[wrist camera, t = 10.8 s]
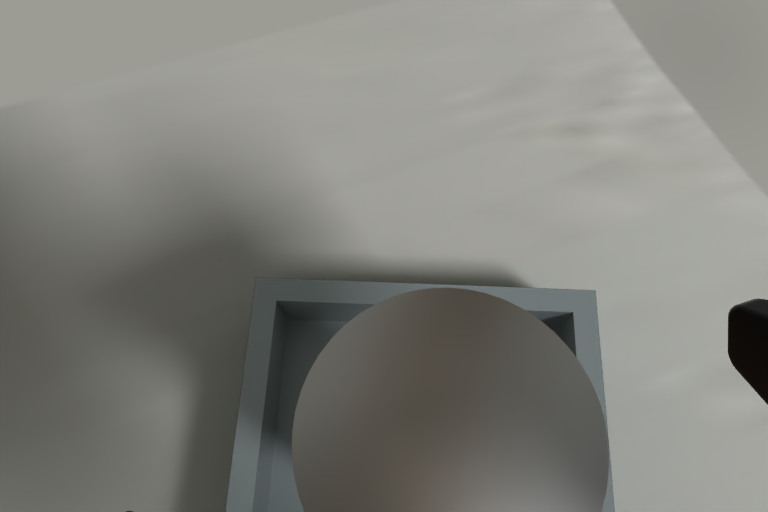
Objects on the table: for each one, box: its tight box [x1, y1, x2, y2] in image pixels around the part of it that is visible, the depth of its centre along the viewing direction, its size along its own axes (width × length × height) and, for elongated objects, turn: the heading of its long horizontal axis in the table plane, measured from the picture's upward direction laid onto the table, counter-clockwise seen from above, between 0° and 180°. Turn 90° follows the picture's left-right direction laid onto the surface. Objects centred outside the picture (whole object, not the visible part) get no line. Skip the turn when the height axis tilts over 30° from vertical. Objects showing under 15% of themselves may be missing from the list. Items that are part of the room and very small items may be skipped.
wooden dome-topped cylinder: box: [292, 288, 609, 512], centre depth 15 cm, size 6×6×12 cm
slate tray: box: [225, 277, 615, 512], centre depth 20 cm, size 12×12×3 cm
